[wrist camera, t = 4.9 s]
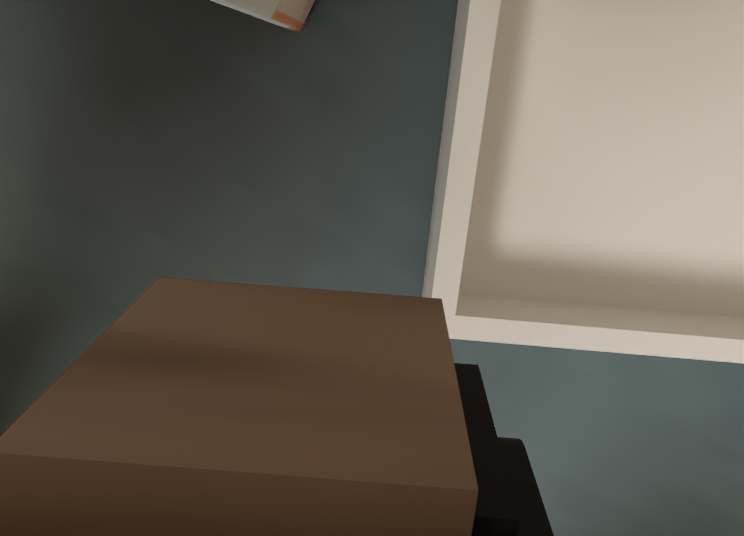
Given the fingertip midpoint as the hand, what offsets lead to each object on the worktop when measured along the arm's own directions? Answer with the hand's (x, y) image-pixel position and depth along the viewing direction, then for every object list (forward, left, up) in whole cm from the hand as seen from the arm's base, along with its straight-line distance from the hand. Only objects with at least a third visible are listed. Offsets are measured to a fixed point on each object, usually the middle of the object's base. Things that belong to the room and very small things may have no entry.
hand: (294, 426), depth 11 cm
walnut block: (0, 0, -1) cm, 1 cm away
